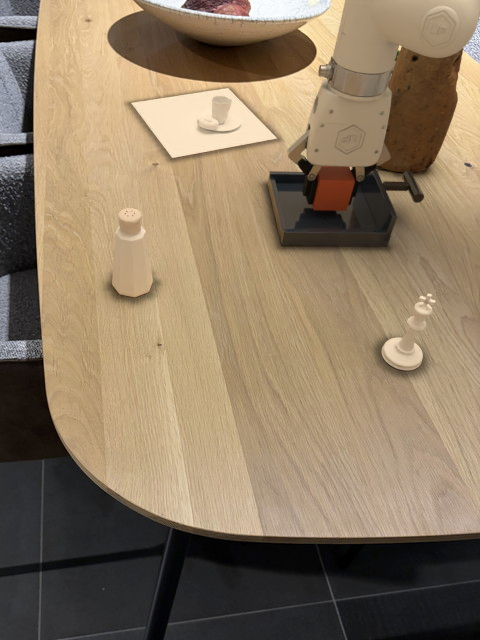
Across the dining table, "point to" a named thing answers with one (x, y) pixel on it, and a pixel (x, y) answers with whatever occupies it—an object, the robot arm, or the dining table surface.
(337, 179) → the terracotta block
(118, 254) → the pepper shaker
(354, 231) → the tipping dish
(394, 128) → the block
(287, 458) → the dining table surface
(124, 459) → the dining table surface
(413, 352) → the chess piece
